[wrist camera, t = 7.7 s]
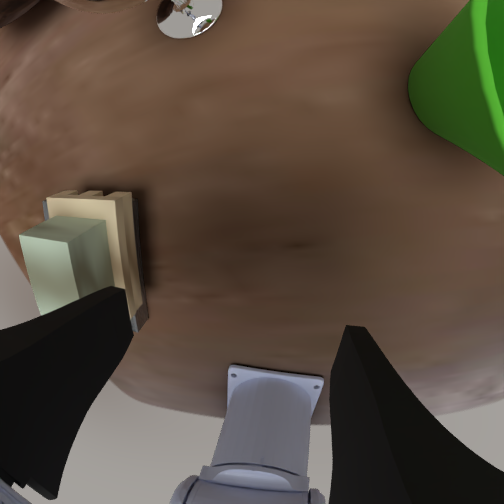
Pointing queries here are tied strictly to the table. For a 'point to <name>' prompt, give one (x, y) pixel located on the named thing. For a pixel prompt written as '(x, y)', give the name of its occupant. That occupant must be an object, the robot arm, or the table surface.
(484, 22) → the cup
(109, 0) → the wineglass
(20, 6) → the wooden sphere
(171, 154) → the table surface
